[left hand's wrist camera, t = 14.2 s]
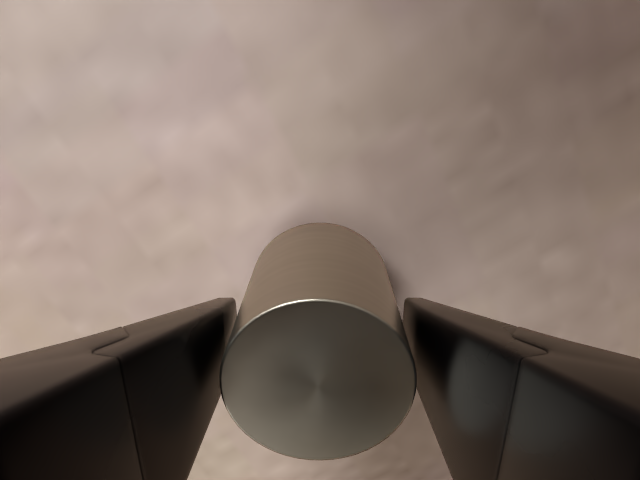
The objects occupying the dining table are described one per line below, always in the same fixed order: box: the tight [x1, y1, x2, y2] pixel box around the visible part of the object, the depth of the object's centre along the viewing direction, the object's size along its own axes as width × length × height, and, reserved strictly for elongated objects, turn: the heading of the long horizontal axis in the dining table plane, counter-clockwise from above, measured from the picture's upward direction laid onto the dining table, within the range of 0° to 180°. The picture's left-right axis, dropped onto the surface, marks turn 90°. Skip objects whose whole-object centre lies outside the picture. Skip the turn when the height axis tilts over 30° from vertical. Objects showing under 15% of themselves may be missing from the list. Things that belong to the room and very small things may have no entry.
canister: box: [219, 223, 417, 460], centre depth 11 cm, size 4×4×4 cm
